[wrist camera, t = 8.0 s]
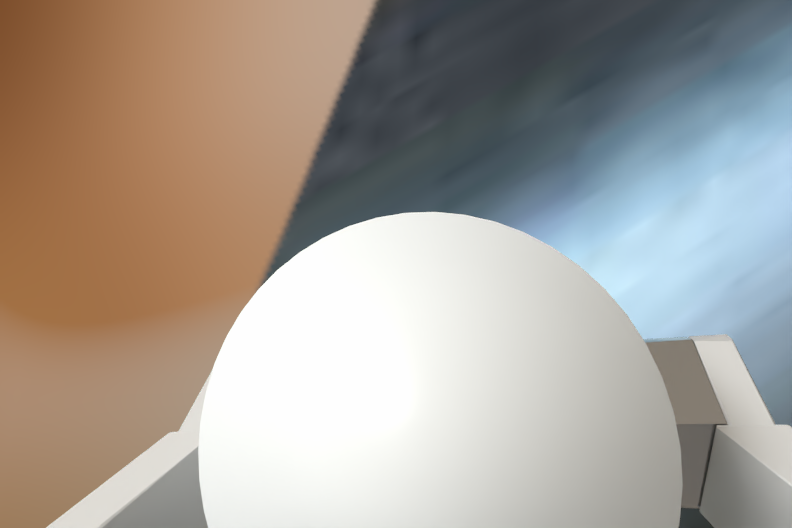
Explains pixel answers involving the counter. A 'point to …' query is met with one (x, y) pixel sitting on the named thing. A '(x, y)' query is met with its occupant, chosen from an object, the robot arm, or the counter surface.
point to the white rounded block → (436, 391)
